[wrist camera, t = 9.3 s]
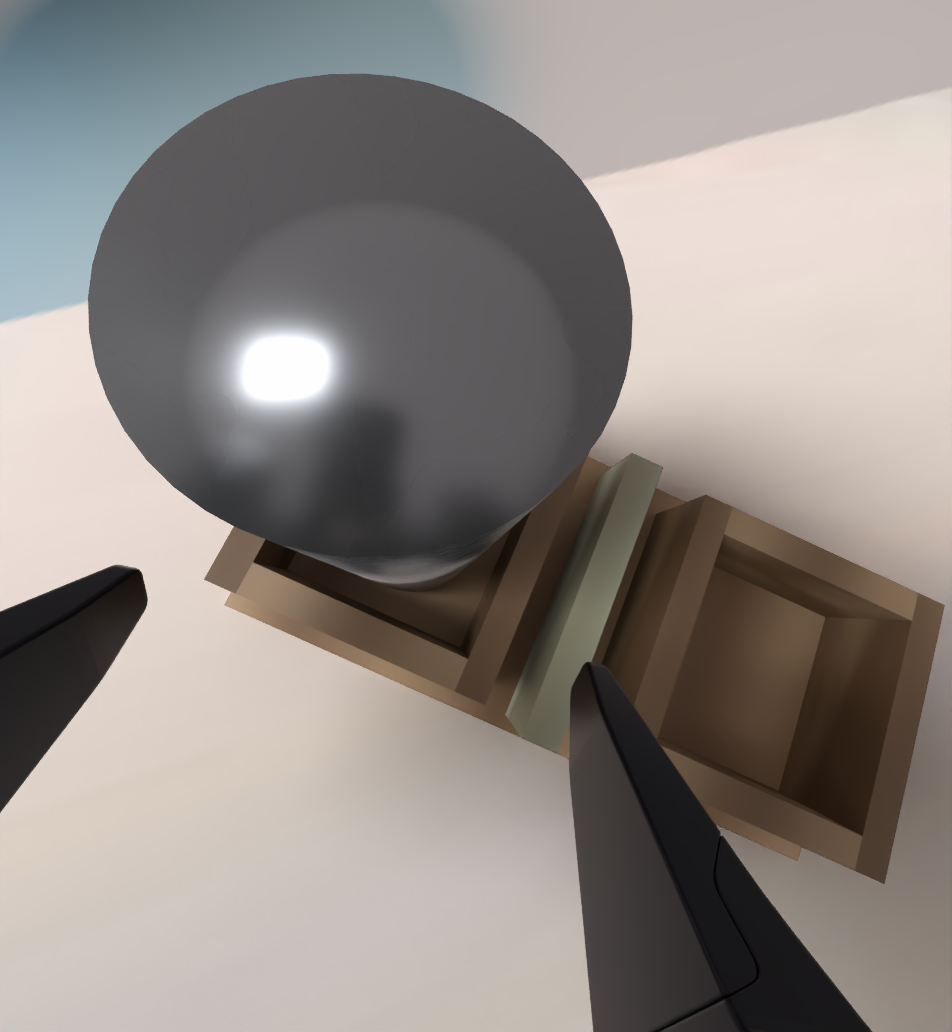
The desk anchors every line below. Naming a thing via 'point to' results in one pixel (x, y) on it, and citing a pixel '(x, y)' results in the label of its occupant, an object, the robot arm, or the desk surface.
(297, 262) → the brushed steel cylinder
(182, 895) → the desk surface
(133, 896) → the desk surface
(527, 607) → the wooden compartment tray
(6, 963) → the desk surface
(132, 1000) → the desk surface
